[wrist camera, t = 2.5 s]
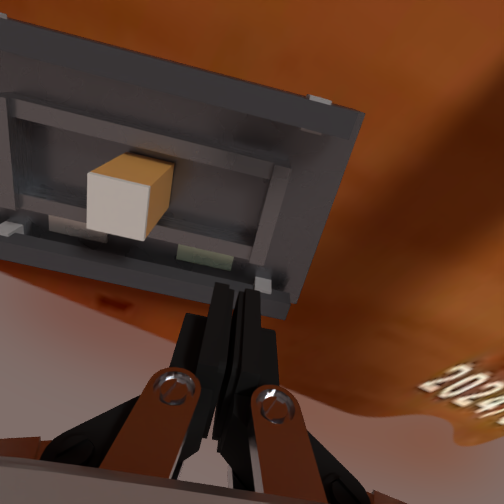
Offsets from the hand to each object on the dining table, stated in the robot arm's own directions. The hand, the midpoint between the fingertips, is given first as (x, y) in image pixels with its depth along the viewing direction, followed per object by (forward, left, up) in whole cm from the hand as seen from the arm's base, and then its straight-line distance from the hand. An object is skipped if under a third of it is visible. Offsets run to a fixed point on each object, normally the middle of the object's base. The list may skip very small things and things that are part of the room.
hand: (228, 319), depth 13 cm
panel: (+7, 0, -15) cm, 16 cm away
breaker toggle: (+7, 0, -12) cm, 13 cm away
